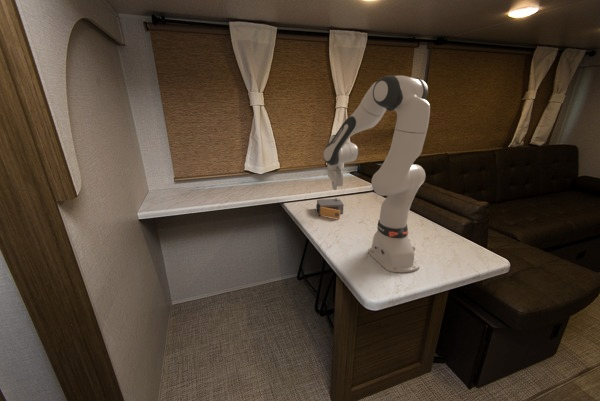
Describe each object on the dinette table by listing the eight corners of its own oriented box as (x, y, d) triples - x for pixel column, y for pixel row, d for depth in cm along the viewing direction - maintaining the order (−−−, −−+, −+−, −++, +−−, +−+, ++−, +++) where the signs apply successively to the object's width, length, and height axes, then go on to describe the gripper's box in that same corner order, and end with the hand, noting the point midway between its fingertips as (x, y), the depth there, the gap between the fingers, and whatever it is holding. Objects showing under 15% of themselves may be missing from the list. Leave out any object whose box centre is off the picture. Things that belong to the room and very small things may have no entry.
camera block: (343, 213, 153) (343, 203, 150) (317, 215, 151) (318, 204, 148) (338, 207, 162) (339, 197, 159) (314, 208, 160) (315, 198, 158)
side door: (338, 220, 144) (339, 211, 142) (318, 215, 150) (318, 207, 148) (339, 219, 146) (340, 210, 144) (319, 214, 151) (319, 206, 149)
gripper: (347, 169, 129) (345, 195, 135) (336, 160, 148) (335, 183, 153) (334, 169, 129) (333, 195, 134) (326, 160, 148) (325, 183, 153)
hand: (334, 189), depth 144 cm, fingers closed
